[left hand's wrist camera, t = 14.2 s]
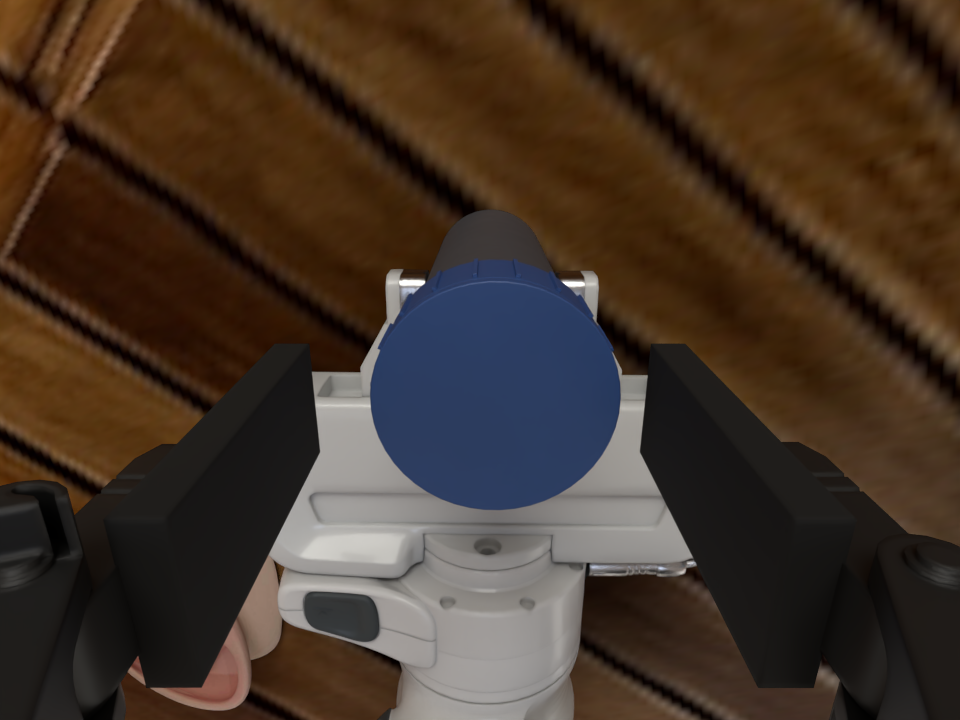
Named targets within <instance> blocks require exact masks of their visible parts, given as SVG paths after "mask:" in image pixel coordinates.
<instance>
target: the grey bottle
mask: <svg viewBox="0 0 960 720" xmlns="http://www.w3.org/2000/svg"><path fill="white" fill-rule="evenodd" d="M477 258H478V261H481V260H508V261H513V259H517V260H518V262H521V263H524V264H527V265H531V266H534V267H536V268H539V269H541V270H543V271H546V272H548V273H549V272H550V271H551V272H553V270H552V268H551V266H550V264H549V262H548V260H547V258H546V256H545V254H544V252H543V250H542V248H541V246H540V243H539V241H538V239H537V238H536V236H535V234H534V232H533V231H532V230H531V228H530V227H529V226H528V225H527V224H526V223H525V222H523V221H522V220H521V219H519V218H518V217H516V216H514V215H512V214H510V213H507V212H504V211H499V210H482V211H478V212H474V213H472V214H469V215H467V216H465V217H464V218H462V219H461V220H459V221H458V222H457V223H456V224H455V225H454V226H453V227H452V228H451V229H450V230H449V232H448V233H447V235H446V236H445V238H444V240H443V243H442V245H441V248H440V250H439V252H438V255H437V257H436V260H435V262H434V265H433V267H432V269H431V272H430V274H429V277H428V279H427V281H429V280H430V279H431V278H433V277H435V276H436V274H437V272H438V271H440V270H441V271H442V272H444V271H445V270H448V269H450V268H453V267H456V266H458V265H461V264H465V263H469V262H473V261H474V259H477ZM553 273H554V272H553ZM554 275H555V274H554ZM555 277H556V276H555Z"/></svg>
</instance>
